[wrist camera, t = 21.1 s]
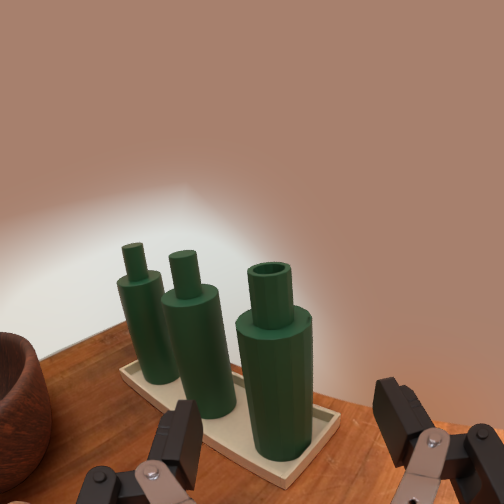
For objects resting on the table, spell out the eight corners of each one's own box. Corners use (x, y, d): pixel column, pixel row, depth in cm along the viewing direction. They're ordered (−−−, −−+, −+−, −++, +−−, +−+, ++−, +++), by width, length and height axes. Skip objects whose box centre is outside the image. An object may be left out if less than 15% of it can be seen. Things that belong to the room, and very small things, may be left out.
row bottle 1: (175, 357, 43) (149, 237, 39) (188, 377, 38) (159, 244, 34) (140, 368, 41) (107, 246, 36) (149, 389, 36) (111, 255, 31)
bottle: (290, 414, 30) (279, 252, 26) (323, 443, 25) (326, 267, 21) (244, 436, 28) (215, 269, 23) (274, 471, 23) (254, 290, 18)
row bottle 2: (223, 383, 37) (199, 242, 32) (245, 407, 32) (222, 252, 27) (182, 398, 34) (147, 254, 30) (199, 426, 29) (160, 267, 25)
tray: (340, 425, 28) (341, 413, 27) (285, 490, 21) (285, 479, 20) (174, 352, 46) (171, 341, 45) (123, 380, 39) (118, 369, 38)
